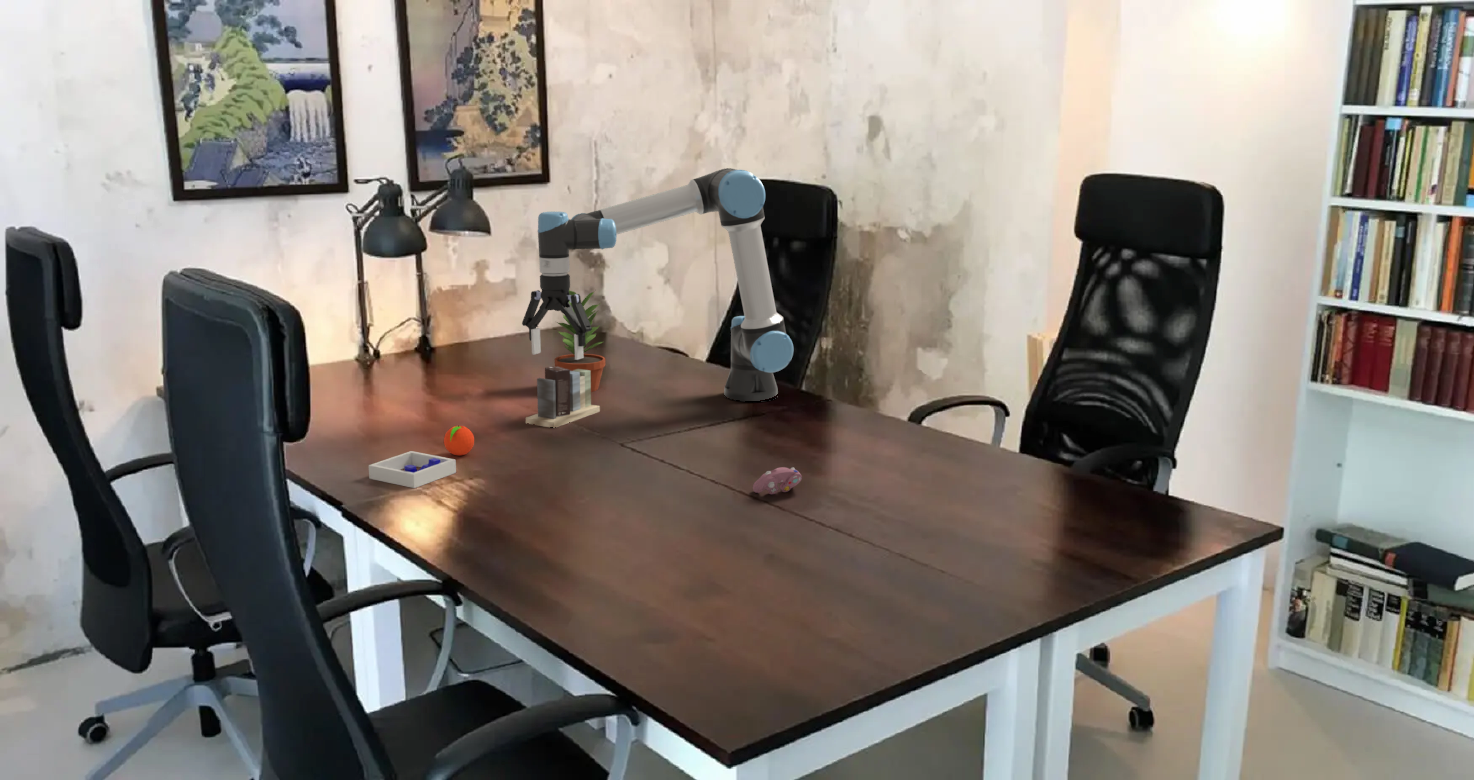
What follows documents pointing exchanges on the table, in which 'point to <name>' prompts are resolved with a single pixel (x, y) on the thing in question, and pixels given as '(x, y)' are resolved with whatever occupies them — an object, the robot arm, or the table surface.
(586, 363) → the potted plant
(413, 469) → the cable holder
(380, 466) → the desk organiser frame
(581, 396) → the book rack
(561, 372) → the box
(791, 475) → the video game controller
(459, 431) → the clementine
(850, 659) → the table surface
